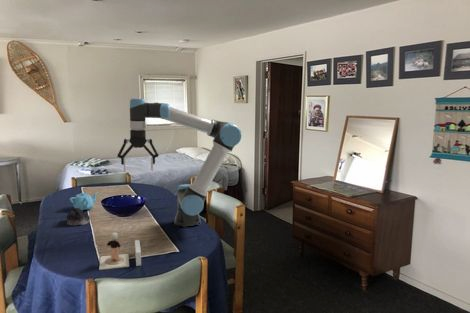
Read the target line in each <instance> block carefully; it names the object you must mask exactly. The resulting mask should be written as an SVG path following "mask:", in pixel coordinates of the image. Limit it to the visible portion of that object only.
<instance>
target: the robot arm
mask: <svg viewBox="0 0 470 313" xmlns="http://www.w3.org/2000/svg"><path fill="white" fill-rule="evenodd" d="M148 118H149V119H150V118H151V119H161V120H166V121H168V122H171V123H174V124H178V125H180V126H184V127H186V128H190V129H192V130H195V131H199V132H201V133H205V134H206V135H207V136H209V137H211V138H213V140H212V143H213V146H212V147H211V149H210V151H209V153H208V154H207V156H206V159H205V161H204V162H203V164H202V166H201V167H200V170H199V171H198V173H197V175H196V177H195V179H194V181H193V182H192V183H191V184H186V183H185V184H180V185H179V184H178V186H177V190H176V191H177V212H176V214H175V218H174V225H175V226H176V225H177V226H176V227H179V226H182V227H181V228H187V227H186V226H192V225H196V224H198V223H199V222H200V223H201V217H200V213H201V212H202V211H203V210H204V205H205V204H204V203H205V201H206V198H207V197H208V193H207V191H208V189H209V187H210V186H211V184H212V182H213V180H214V178H215V177H216V175H217V173H218V171H219V169H220V168H221V166H222V165H223V162H224V160H225V158H226V157H227V155H228V153H232V151H233V149H234V148H235V146H237V145H238V144H239V143H240V142H241V139H242V131H241V129H240V128H239V127H238V126H237V125H236V124H234V123H232V122H227V121H220V120H216V119H211V120H210V119H207V118H205V117H202V116H198V115H195V114H192V113H190V112H186V111H183V110H180V109H177V108H174V107H171V106H170V104H169V103H164V102H146V99H145V98H130V100H129V129H130V130H129V132H130V133H129V134H130V135H129V136H130V137H129V139H127V138H124V139H123V143H122V145H121V147H120V149H119V151H118V153H117V158H119V159H120V162H121V163H120V164H121V166H122V165H123V172H126V158H125V157H126V156H127V155H128V153H130V152H131V150H132V149H133V148H135V149H137V148H139V149H140V148H144V149H145V151H146V152H148V154H149V155H150V156H151V157H150V171H154V165H155V163H156V158H158V157H159V156H160V155H159V153H158V151H157V150H156V148H155V145H154V143H153V139H152V138H149V139H147V137H146V136H147V135H146V132H147V131H146V119H148ZM128 143H129V144H130V145H129V146H128V148H127V149H126V150H125V151H124V149H125V147H126V145H127V144H128ZM146 143H148V144H149V145H150V147H151V149H152V151H153V152H152V151H151V150H150V149H149V148H148V147H147V145H146ZM123 151H124V152H123Z"/></svg>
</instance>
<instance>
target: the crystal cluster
mask: <svg viewBox="0 0 470 313" xmlns="http://www.w3.org/2000/svg"><path fill="white" fill-rule="evenodd" d="M89 222H91V217H90V215H88V213H87V212H85V211H84V210H83V211H82V210H81V209H80V208H74V207H73V208H72V209H71V211H69V212H68V214H67V215H66V224H67V225H69V226H80V225H81V226H82V225H87V224H88V223H89Z"/></svg>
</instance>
